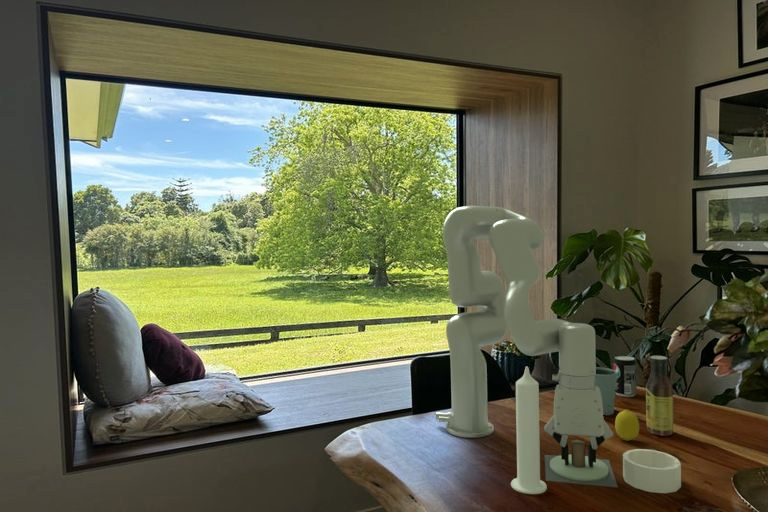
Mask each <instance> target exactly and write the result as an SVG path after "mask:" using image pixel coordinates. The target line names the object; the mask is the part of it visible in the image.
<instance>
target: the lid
mask: <svg viewBox="0 0 768 512" xmlns="http://www.w3.org/2000/svg"><path fill="white" fill-rule="evenodd" d="M570 443H571V445H570V446H571V447H570V448H571V449H570V450H571V454H569V465H568V466H567V465H565V460H562V459H561V454H560V455H555V456H556V457H554V458H552V459H551V460H550V469H551V471H552V472H553V473H555V474H556V475H558V476H560V477H562V478H565V479H569V480H573V481H581V482H594V481H599V480H603V479H605V478H606V477H607V476H608V466H607V465H606V464H605V463H604V462H602V461H600V460H598V459H599V458H596V462H593V468H591V467H589V463H588V455H586V442H585V441H583V440H579V439H575V440H571V441H570Z"/></svg>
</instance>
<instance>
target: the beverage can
mask: <svg viewBox="0 0 768 512" xmlns="http://www.w3.org/2000/svg"><path fill="white" fill-rule="evenodd" d="M636 361H637V360H636V358H635V357H633V356H627V355H626V356H625V355H618V356H615V357H614V360H613V370H615V371H616V372H617V381H616V388H615V396H618V397H622V398H633V397H635V395H636V396H637V393H638V392H637V390H638V389H637V388H638V387H637V362H636Z"/></svg>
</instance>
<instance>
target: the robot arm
mask: <svg viewBox="0 0 768 512" xmlns="http://www.w3.org/2000/svg"><path fill="white" fill-rule="evenodd" d="M442 236H443V244H444V247H445V252H446V259H447V274H448V275H447V277H448V290H449V297H450V301H451V302H452V304H453V305H454V306H456V307H458V308H471V307H474V308H475V307H478V310H475V311H467V312H461V313H458V314H455V315H453V316H452V317H451V318H450V319H449V320H448V321H447V324H446V326H445V329H446V330H445V334H446V339H447V344H448V349H449V350H448V351H449V357H450V358H449V359H450V383H451V384H450V389H451V391H450V393H451V394H450V395H451V400H450V401H451V410H450V411H447V412H439V411H436V412H435V420H438V422H440V423H441V422H442V423H444V422H446V426H445V429H446V431H447V432H448V433H449V434H450V435H453V436H455V437H459V438H469V439H475V438H484V437H488V436H490V435H491V434H493V433H494V431H495V429H494V427H495V426H494V424H492V423H491V422H490V421H489V419H488V418H489V417H488V377H487V376H488V373H487V367H488V366H487V361H486V358H485V356H484V354H483V352H482V350H481V348H482V347H486V346H491V345H496V344H499V343H500V342H501V341H503V340H504V338H505V337H506V334H507V330H508V331H509V334H510V337H511V339H512V341H513V344H514V345H515V346H516V348H517V349H518V350H519V351H520V352H521V353H522V354H524V355H526V356H531V357H536V356H541V355H546V354H551V353H557V352H558V373H556V374H552V375H551V376H552V379H551V380H552V381H553V382H554V381H555V382H557V383H558V384H556V386H555V391H554V398H553V415H552V416H551V417H550V419H549V420H548V422H547V423H546V424H545V425H544V428H543V430H544V432H546V433H547V434H548V435H549V436H551V437H552V438H554V440H555V441H556V442H557V443H558V444H559V445H560V449H561V450H560V452H561V453H560V455H561V459H562V460H565V465H567V466H568V465H569V452H570V451H569V444H568V439H569V438H568V437H569V436H572V437H573V436H574V437H575V436H576V437H588V439H589V441H590V442H589V444H587V456H588V463H589V467H591V468H593V462H596V459H597V449H598V447H599V446H601V445H602V444H603V443H604V442H605V441H606V440H608V439H610V438H611V437H613V436H614V432H613V430H612V429H611V428H610V426H609V425H608V423H607V422H606V420H605V419H604V417H605V416H603V404H602V397H601V392H600V389H599V388H598V387H597V386H596V367H597V363H596V358H597V357H596V354H597V353H596V329H595V328H594V326H592V325H590V324H588V323H582V322H581V323H579V322H570V321H567V320H564V319H560V318H547V319H540V320H535V319H534V317H533V313H532V312H531V309H530V305H529V295H530V294H529V293H530V290H531V289H532V287H533V286H534V285H535V284H536V283H537V282H539V280H540V279H541V278H542V270H541V268H540V265H539V263H538V261H537V259H536V257H535V255H534V252H535V251H538V249H540V247H541V245H542V243H543V240H544V238H543V237H544V235H543V231H542V228H541V227H540V225H539V224H538V223H537V222H536V221H535V220H533V219H531V218H529V217H527V216H524V215H522V214H519V213H517V212H514V211H512V210H509V209H507V208H504V207H500V206H489V205H488V206H487V205H486V206H485V205H484V206H483V205H465V206H464V205H463V206H459V207H456V208H455V209H453V210H451V211H450V212H449V213H448V214H447V216H446V218H445V221H444V223H443V228H442ZM474 239H489V243H490V245H491V248H492V250H493V253H494V255H495V257H496V260H497V262H498V265H499V267H500V270H501V272H502V276H503V278H504V280H505V283H506V291H505V285H504V283H503V281H502V279H501V278H500V276H499V274H497V273H496V272H493V271H491V270H481V268H480V267H481V265H480V256H479V252H478V250H477V247H476V246H475V244H474V243H473V241H472V240H474Z"/></svg>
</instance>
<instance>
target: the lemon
mask: <svg viewBox="0 0 768 512" xmlns="http://www.w3.org/2000/svg"><path fill="white" fill-rule="evenodd" d="M614 428H615V432H616V434H617V435H618V437H620V438H621V439H623V440H624V441H626V442H627V441H628V442H630V441H631V440H634V439H635V438H637V436H638V435H639V431H640V422H639V419H638V417H637V415H636V414H635V413H634V412H632V411H630V410H629V409H624V410H622V411H620V412H618V414H617V415H616V417H615V421H614Z"/></svg>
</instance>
